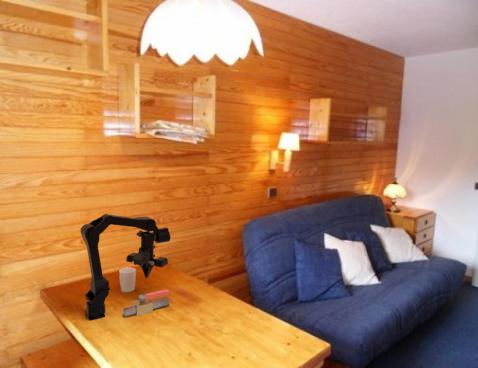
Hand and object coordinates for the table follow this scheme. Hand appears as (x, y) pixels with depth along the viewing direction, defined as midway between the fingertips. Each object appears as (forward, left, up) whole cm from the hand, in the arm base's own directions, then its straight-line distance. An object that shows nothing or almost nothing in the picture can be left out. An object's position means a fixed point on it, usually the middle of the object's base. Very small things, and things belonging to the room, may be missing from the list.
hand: (146, 277), depth 170 cm
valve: (-3, -9, -12) cm, 15 cm away
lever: (0, -9, -6) cm, 11 cm away
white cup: (-3, +17, -12) cm, 21 cm away
